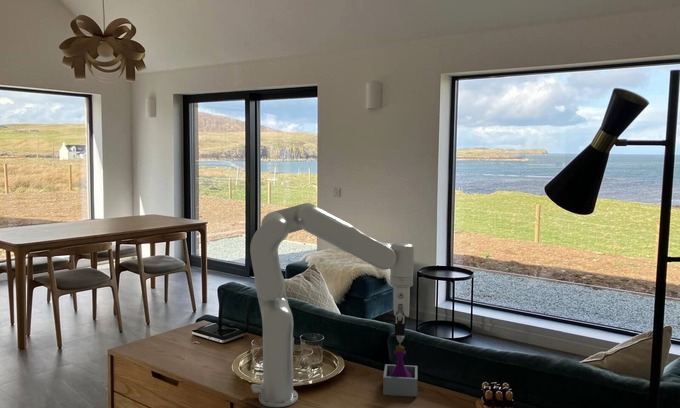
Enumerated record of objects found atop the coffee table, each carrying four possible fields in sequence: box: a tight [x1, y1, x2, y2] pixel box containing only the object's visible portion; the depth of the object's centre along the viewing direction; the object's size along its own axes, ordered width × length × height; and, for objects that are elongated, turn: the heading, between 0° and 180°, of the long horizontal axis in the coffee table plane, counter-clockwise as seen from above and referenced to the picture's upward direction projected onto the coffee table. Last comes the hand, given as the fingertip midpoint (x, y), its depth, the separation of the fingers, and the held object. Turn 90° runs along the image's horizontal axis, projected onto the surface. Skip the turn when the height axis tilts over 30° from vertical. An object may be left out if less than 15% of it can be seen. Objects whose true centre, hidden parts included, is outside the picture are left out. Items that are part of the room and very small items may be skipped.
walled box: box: [382, 363, 418, 398], centre depth 190 cm, size 11×11×6 cm
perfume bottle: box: [389, 335, 412, 378], centre depth 188 cm, size 8×8×18 cm
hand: (399, 330), depth 188 cm, fingers open, 9 cm apart
